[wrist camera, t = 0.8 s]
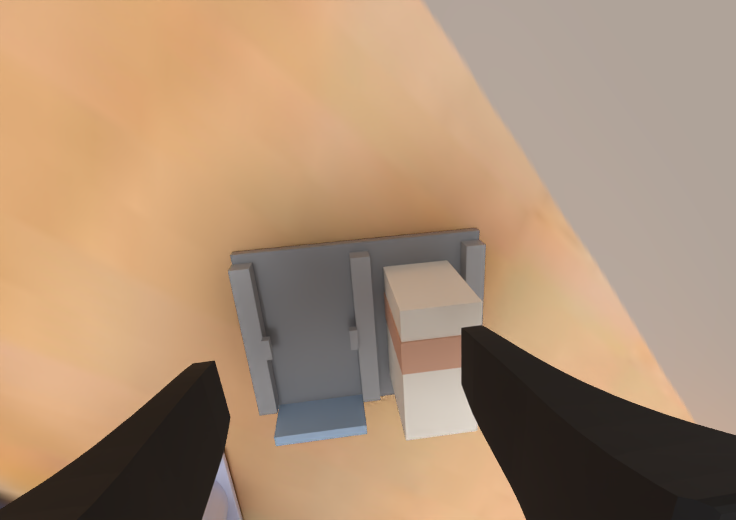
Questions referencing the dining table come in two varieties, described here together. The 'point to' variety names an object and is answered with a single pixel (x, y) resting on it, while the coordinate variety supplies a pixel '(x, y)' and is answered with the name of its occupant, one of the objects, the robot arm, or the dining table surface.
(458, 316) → the block
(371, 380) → the grey ribbed plate
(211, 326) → the dining table surface
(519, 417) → the robot arm
